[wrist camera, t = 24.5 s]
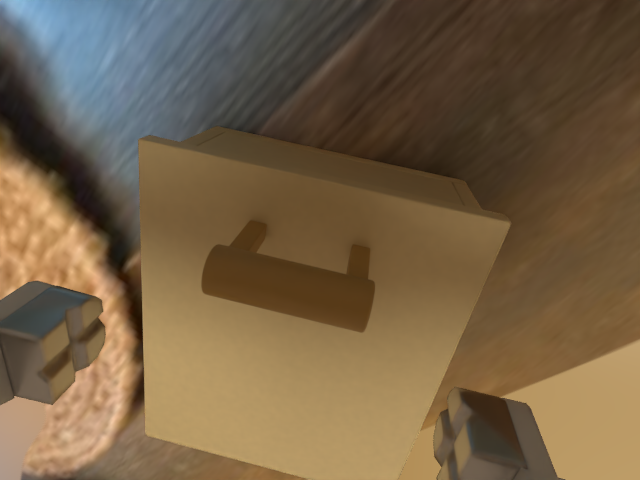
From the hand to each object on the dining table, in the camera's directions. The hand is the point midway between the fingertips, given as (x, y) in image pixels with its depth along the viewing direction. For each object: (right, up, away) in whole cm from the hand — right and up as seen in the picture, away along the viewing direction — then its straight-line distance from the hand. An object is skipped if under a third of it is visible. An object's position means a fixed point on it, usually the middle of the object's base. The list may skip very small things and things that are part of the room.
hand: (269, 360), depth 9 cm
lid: (0, -2, +9) cm, 9 cm away
